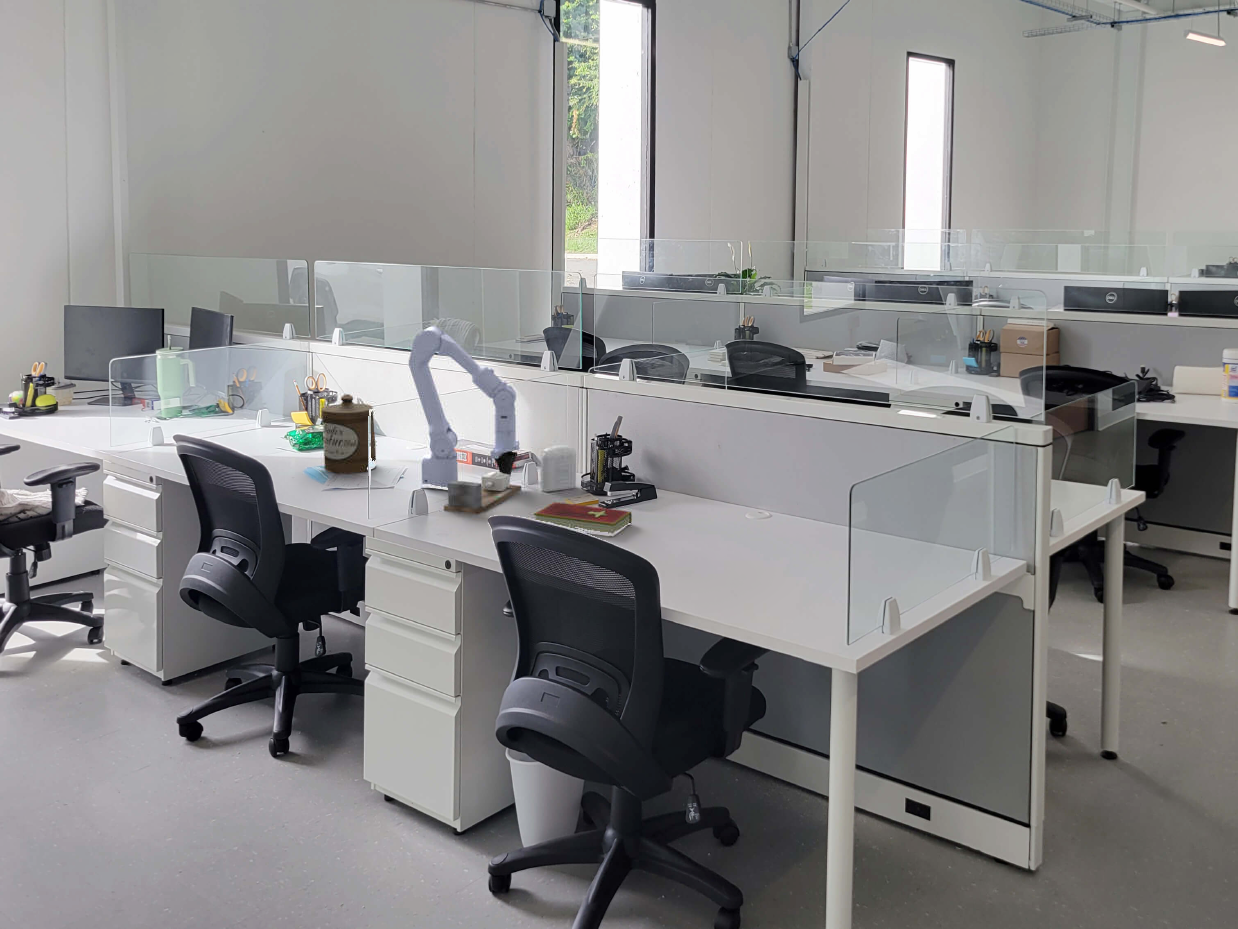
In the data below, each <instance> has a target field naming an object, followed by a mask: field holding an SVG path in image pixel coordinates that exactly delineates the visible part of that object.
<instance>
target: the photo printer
mask: <svg viewBox="0 0 1238 929" xmlns="http://www.w3.org/2000/svg"><path fill="white" fill-rule="evenodd" d="M576 473H577V451H576V449H575V447H572V446H570V445H565V444H558V445H554V446H550V447H548V448H544V449H543V450H542V451H541V453H540V489H541V491H542V492H545V493H547V492H548V493H549V492H554V491H562V490H570V489H575V488H576V487H577V485H576V484H577V483H576V482H577V480H576V479H577V474H576Z"/></svg>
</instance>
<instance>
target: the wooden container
mask: <svg viewBox="0 0 1238 929" xmlns="http://www.w3.org/2000/svg"><path fill="white" fill-rule="evenodd" d="M340 400H341V403H337V404H330V405H326V406H324V407H322V408H321V416H322V417H321V418H322V427H323V428H322V432H323V433H322V434H323V441H322V442H323V456H324V457H323V458H324V470H326V471H328V472H330V473H335V474H358V473H365V472H368V471H367V467H368V416H369V409H373V406H372V405H371V404H365V403H354V402H353V400H354V397H353V395H351V394H349V393H345V394H343V395H342V396H341V397H340ZM376 449H377V448H376V436H375V423H374V409H373V411H372V412H371V458H372V461H373V460H374V461H375V460H376V461H377V455H376V454H377V452H376V451H377V450H376Z"/></svg>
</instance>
